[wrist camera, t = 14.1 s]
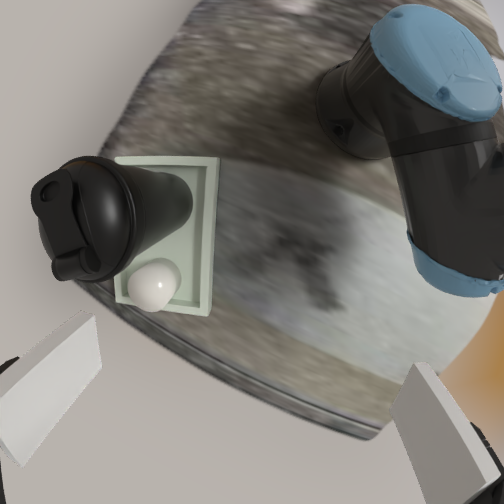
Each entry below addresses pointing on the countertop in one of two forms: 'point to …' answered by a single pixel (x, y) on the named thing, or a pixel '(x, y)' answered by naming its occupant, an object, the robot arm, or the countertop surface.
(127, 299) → the tray
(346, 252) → the countertop surface
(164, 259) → the white domed cylinder
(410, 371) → the robot arm
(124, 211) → the water bottle
